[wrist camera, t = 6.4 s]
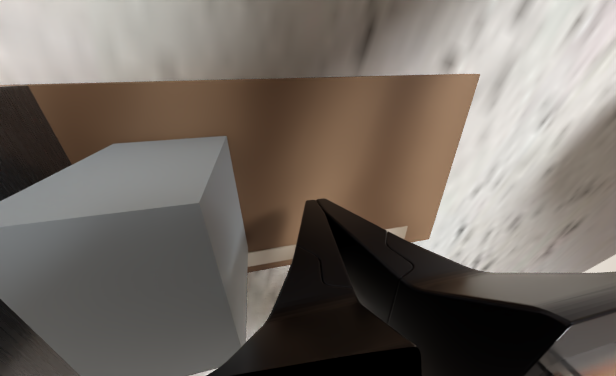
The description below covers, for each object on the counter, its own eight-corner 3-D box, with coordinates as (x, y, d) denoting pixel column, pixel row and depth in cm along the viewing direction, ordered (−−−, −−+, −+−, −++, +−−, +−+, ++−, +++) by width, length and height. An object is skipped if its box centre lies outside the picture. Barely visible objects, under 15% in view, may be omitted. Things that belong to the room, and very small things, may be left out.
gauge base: (462, 74, 11) (482, 73, 10) (419, 230, 16) (430, 240, 15) (-55, 86, 7) (-102, 88, 6) (89, 287, 12) (75, 306, 11)
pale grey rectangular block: (226, 135, 9) (199, 202, 4) (253, 274, 13) (253, 389, 8) (113, 143, 8) (-66, 235, 4) (177, 288, 12) (130, 424, 7)
